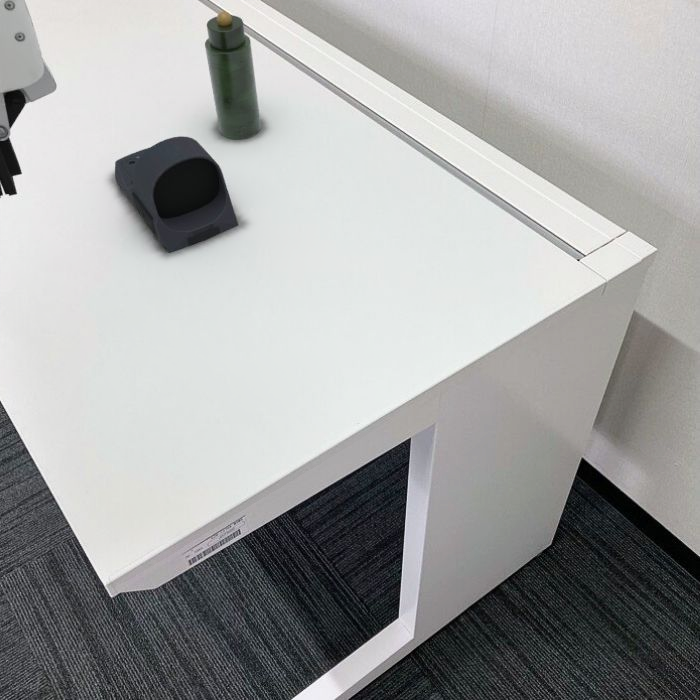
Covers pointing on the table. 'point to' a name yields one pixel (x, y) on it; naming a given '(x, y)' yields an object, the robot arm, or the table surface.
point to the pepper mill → (232, 77)
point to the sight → (177, 191)
